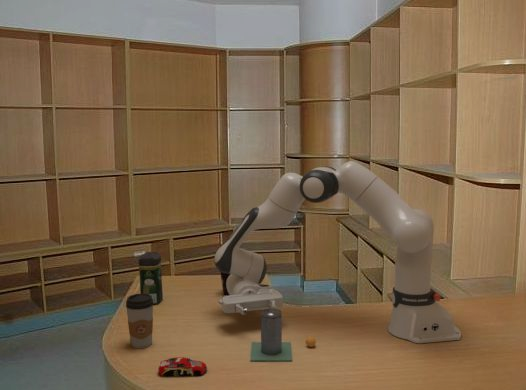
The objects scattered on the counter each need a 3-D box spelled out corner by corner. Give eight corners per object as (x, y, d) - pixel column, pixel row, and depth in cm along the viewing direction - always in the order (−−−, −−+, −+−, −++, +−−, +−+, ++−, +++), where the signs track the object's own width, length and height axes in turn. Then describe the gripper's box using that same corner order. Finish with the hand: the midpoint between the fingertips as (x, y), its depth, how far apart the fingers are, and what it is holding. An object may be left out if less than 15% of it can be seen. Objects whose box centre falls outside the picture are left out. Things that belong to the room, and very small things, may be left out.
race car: (207, 368, 153) (207, 354, 153) (206, 377, 148) (205, 363, 147) (160, 368, 153) (160, 355, 152) (157, 378, 148) (156, 364, 147)
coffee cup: (128, 351, 163) (125, 303, 161) (127, 340, 171) (124, 294, 169) (156, 348, 166) (154, 300, 163) (154, 337, 173) (152, 291, 171)
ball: (315, 344, 167) (315, 335, 167) (316, 348, 164) (316, 339, 164) (305, 344, 167) (305, 335, 167) (306, 348, 164) (306, 339, 164)
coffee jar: (143, 296, 211) (141, 250, 208) (164, 296, 211) (162, 249, 208) (138, 305, 201) (135, 257, 198) (159, 305, 201) (157, 256, 198)
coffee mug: (239, 298, 208) (239, 273, 206) (217, 297, 210) (217, 272, 208) (246, 288, 219) (246, 264, 218) (225, 287, 221) (225, 263, 219)
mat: (290, 343, 168) (290, 342, 168) (292, 361, 156) (292, 359, 156) (251, 343, 168) (251, 342, 168) (250, 361, 156) (250, 360, 156)
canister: (281, 346, 165) (281, 308, 163) (281, 355, 159) (281, 315, 157) (261, 346, 165) (261, 308, 163) (261, 355, 159) (260, 316, 157)
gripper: (216, 290, 181) (226, 304, 168) (275, 284, 187) (289, 297, 174) (217, 308, 182) (227, 323, 169) (275, 301, 188) (289, 316, 175)
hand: (259, 310), depth 172 cm, fingers open, 8 cm apart
